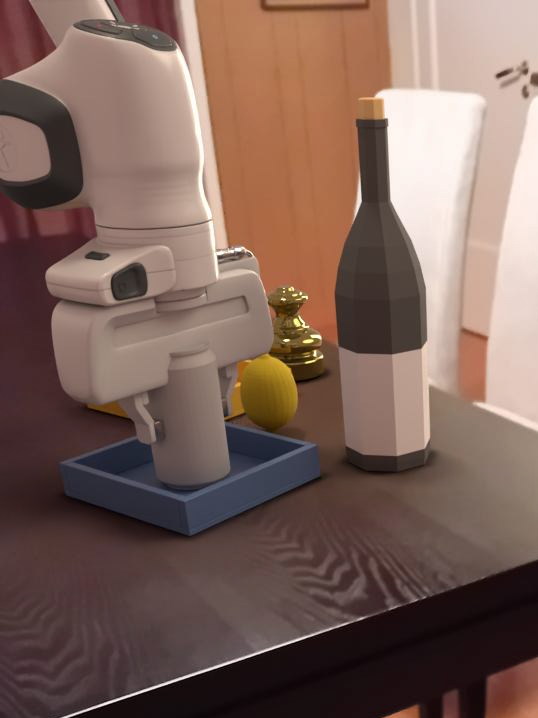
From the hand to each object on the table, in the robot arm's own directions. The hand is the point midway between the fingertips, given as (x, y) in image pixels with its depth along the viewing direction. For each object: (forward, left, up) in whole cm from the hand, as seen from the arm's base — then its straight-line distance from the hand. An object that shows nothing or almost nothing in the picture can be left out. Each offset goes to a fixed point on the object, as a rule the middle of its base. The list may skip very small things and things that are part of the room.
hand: (186, 428), depth 87 cm
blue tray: (0, 0, -5) cm, 5 cm away
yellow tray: (-19, +17, -5) cm, 26 cm away
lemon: (-4, +14, -5) cm, 16 cm away
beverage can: (0, 0, -5) cm, 5 cm away
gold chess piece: (-17, +31, -5) cm, 36 cm away
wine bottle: (+10, +15, -5) cm, 19 cm away
